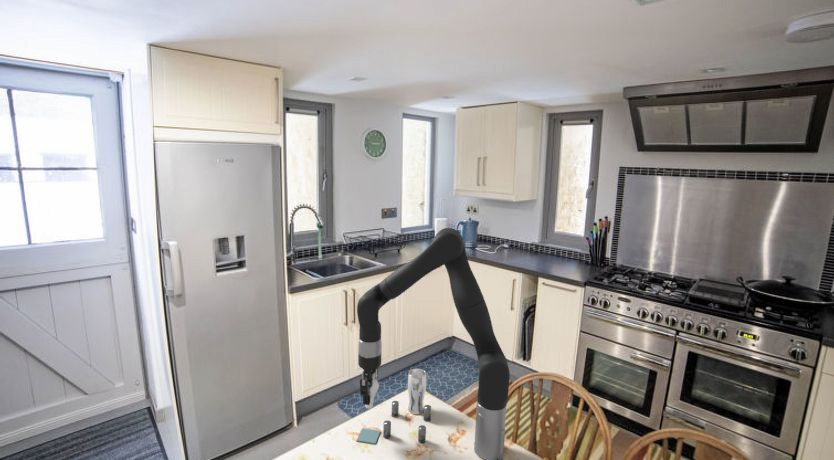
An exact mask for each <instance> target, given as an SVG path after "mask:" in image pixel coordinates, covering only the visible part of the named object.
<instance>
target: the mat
mask: <svg viewBox="0 0 834 460" xmlns="http://www.w3.org/2000/svg"><path fill="white" fill-rule="evenodd" d="M380 434H381V430H378V429H372V428H371V429H369V428H364V427H362V428H361V430H360V433H359V434H358V437H357V438H356V442H359V443H365V444H371V445H376V444H377V441H378V439H379V437H380Z"/></svg>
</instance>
